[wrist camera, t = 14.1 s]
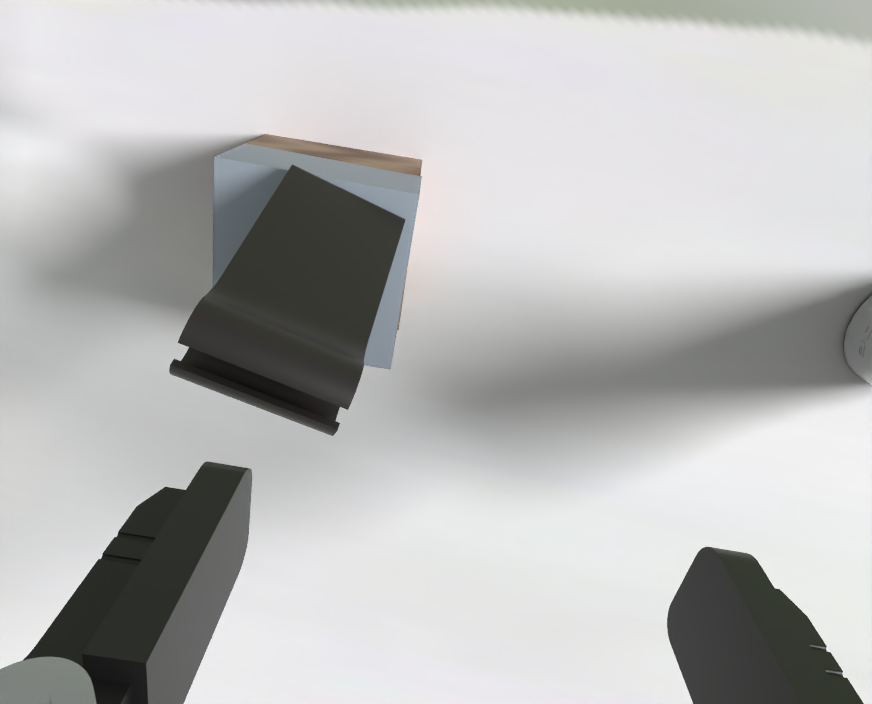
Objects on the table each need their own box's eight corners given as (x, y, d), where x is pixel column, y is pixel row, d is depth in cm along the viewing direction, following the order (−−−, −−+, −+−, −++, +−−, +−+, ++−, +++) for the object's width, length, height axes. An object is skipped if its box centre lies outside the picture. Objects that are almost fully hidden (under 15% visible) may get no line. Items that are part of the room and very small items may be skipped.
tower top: (421, 176, 33) (419, 194, 28) (395, 332, 37) (390, 369, 33) (244, 143, 32) (213, 156, 28) (239, 306, 37) (212, 341, 32)
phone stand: (294, 162, 28) (214, 232, 17) (406, 218, 29) (398, 315, 18) (234, 315, 31) (139, 452, 21) (337, 359, 33) (297, 508, 22)
